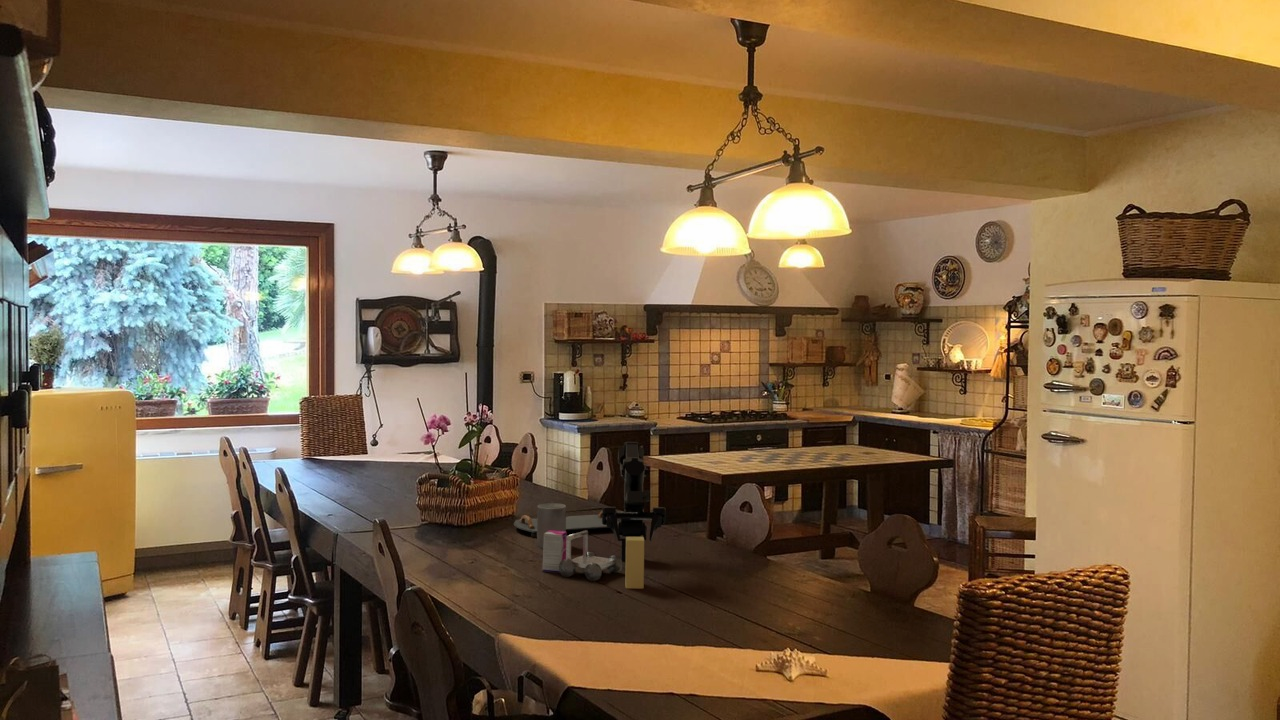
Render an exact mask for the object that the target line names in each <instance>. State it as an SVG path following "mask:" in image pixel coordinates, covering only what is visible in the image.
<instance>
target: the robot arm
mask: <svg viewBox="0 0 1280 720" xmlns="http://www.w3.org/2000/svg"><path fill="white" fill-rule="evenodd" d="M617 450H618V451H617V464H619V470H620V477H622V479H623V480H624V483H623V494H624V495H623V499H624V502H623V503H624V504H623V508H624V509H622V510H621V511H618V510H617V508H616V506H604V507H602V509H601V511H602V524H603V525H607V527H608V528H610V529H611V531H612V532H613V534H614V536H615V538H616V540H617V541H618V542H621V551H620V552H621V553H620V554H621V556H619V557H620V558H621V560H622V561H624V562H626V537H644V541H647V531H648V530H647V529H648V526H647V525H646V522H645V521H644V520H651V521H650V531H649V537H648V538H649V542H652V539H653V538H654V534H655V532H656V531H657V530H658V529H659V528H661V527H662V526H665V525H666V523H667V509H666V507H663V506H662V507H660V506H659V507H658V506H657V507H656V506H653V507H652V511H644V510H645V503H648V502H650V489H644V480H645V479H644V478H645V477H647V474H649V468H648V467H647V465H646V464H644V448H643V447H641V446H640V443H639V442H637V441H626V442H623V445H621V446H620V447H619V448H618V449H617ZM618 519H619V522H617V521H618Z"/></svg>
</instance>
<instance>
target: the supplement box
mask: <svg viewBox="0 0 1280 720" xmlns="http://www.w3.org/2000/svg"><path fill="white" fill-rule="evenodd" d="M567 533H568V532H567V531H566V532H564V531H551V530H549V531H548V532H546V533H544V545H543V551H542V572H544V573H556V574H557V573H558V574H559V573H560V571H559V564H560V562H561V561H562V560H565V559H566V536H568V535H567ZM560 574H561V573H560Z"/></svg>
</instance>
